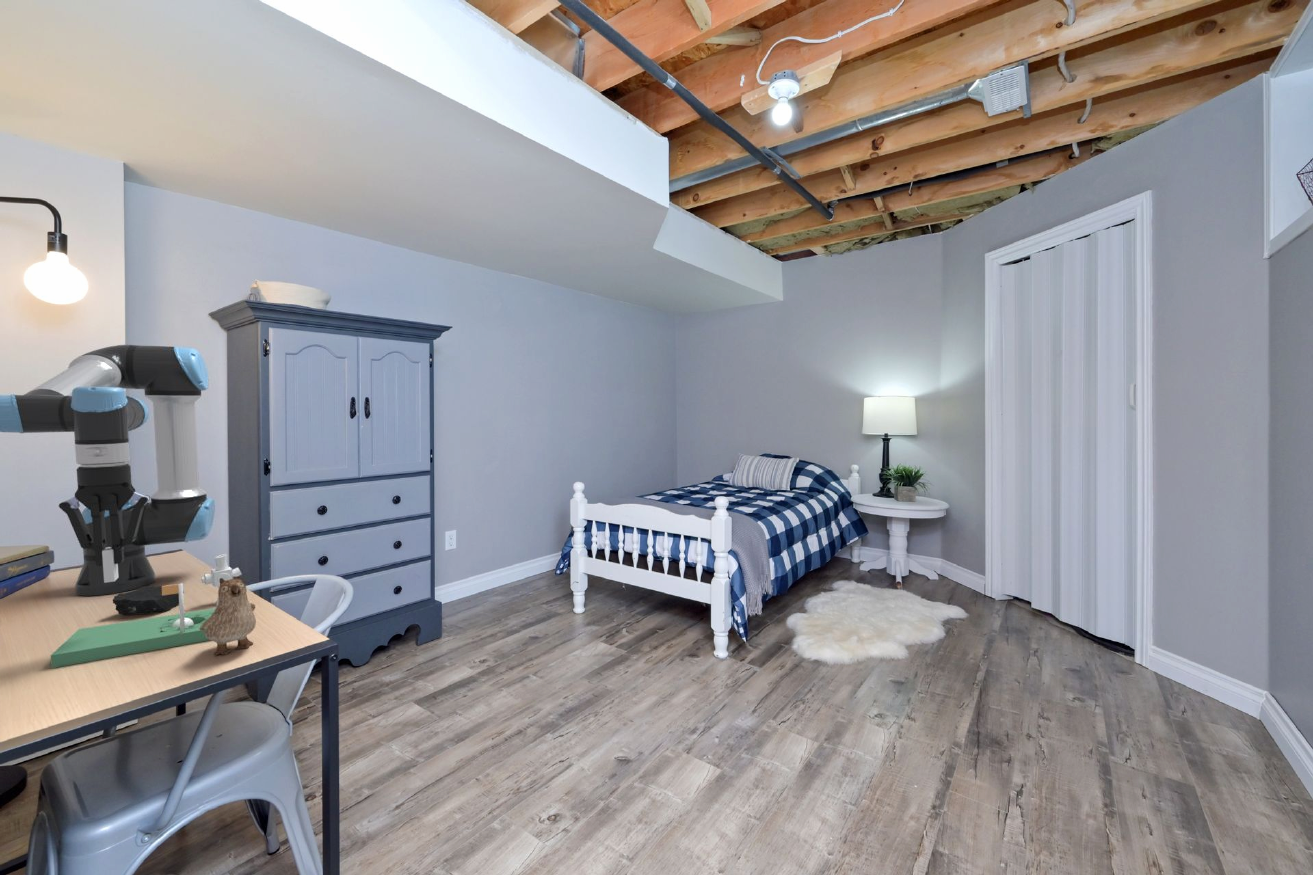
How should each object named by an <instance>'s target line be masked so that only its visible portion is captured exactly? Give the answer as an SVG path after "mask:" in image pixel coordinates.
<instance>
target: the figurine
mask: <svg viewBox="0 0 1313 875" xmlns="http://www.w3.org/2000/svg"><path fill="white" fill-rule="evenodd" d="M242 577H243V576H242V575H239V576H236V578H233V579H230V580H224V579H223V578H220V587H219V588H218V592H217V597H218V596H219V603H218V606H216V607H215V608H216V609H215V608H214V609H215V611H214V613H213V614H212V615H211V617H210V618H209V619H207V620H206V621H205V622H204V623H203V624H202V626H201V627H200V628H199V630H205V635H206V638H207V639H209V641H211V642H214V643H216V650H215V652H214V653H213V656H217V655H227V654H228V653H229V652H230V651H231V649H230V648H228V647H227V646H228V645H227V643H231V642H235V641H237V645H236V647H235V648H234V650H240V649H241V650H242V649H249V647H250V646H251V645H254V642H252V641H251V640H249V638H248V637H247V636H248V635H250V634H251V633H252V632H253V631H254V629H255V628H256V625H257V624H256V623H257V621H256V620H257V619H256V615H255V613H254V611H255V609H256V605H255V603H253V602H250V601H249V599H248V595H247V586H246V583H244V582H243V581H242Z"/></svg>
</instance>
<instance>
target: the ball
mask: <svg viewBox="0 0 1313 875" xmlns="http://www.w3.org/2000/svg"><path fill="white" fill-rule="evenodd" d="M184 619H185V626H191V625H194V623H193V621H192V620H191V619H190V618H184ZM172 626H173V627H180V619H178V620H176V621H175V622H174V623H173V625H172Z"/></svg>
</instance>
